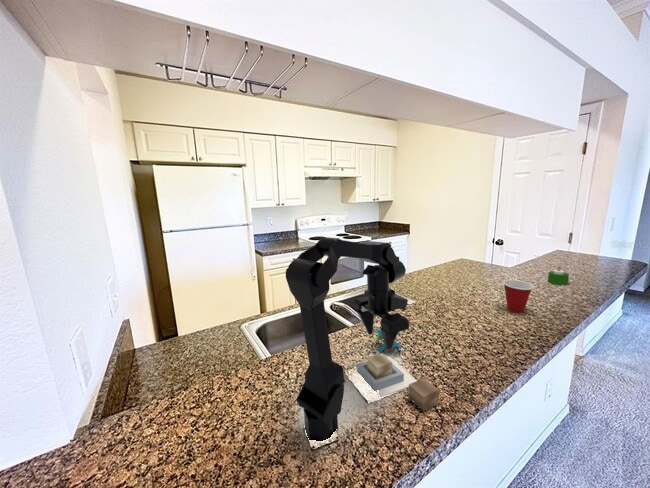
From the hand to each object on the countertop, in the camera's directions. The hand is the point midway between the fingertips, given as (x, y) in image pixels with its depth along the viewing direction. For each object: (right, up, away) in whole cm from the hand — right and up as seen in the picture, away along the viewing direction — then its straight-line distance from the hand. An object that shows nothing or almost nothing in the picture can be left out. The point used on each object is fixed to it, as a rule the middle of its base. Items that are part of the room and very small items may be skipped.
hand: (379, 341), depth 76 cm
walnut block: (+10, -13, -7) cm, 17 cm away
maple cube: (0, -10, +2) cm, 11 cm away
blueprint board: (0, -11, +2) cm, 11 cm away
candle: (+110, +6, +71) cm, 132 cm away
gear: (+6, -9, +17) cm, 20 cm away
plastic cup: (+67, -1, +41) cm, 79 cm away
